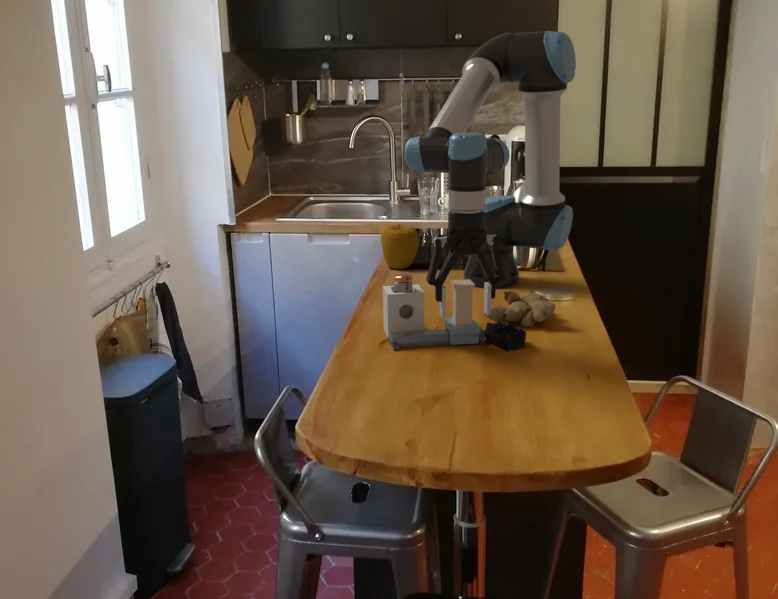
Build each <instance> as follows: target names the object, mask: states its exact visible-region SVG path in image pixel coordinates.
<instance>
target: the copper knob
mask: <svg viewBox="0 0 778 599" xmlns="http://www.w3.org/2000/svg"><path fill="white" fill-rule="evenodd" d="M412 285H413V275H412V274H409V273H397V274H395V275H393V286H394V293H404V292H412Z"/></svg>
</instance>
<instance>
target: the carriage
mask: <svg viewBox="0 0 778 599" xmlns="http://www.w3.org/2000/svg"><path fill="white" fill-rule="evenodd" d="M450 285H451V286H452V298H451V299H452V305H451V306H452V307H451V308H452V309H451V310H452V312H451V314H452V316H451V317H446V318H444V325H445V328H444V329H448V330H449V331H450V344H449V345H451V346H455V345H472V344H473V345H474V344H480V343H479V333H480V327H481V326H480V324H479V323H478V322H477V321H476V320H475V318H474V317H473V304H474V303H473V300H474V298H473V296H474V295H473V293H474V289H475V288H476V286H475V284H474V283H473V282H472V281H471V280H470V279H468V280H464V279H454V280H453V279H451V280H450Z"/></svg>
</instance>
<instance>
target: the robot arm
mask: <svg viewBox="0 0 778 599" xmlns="http://www.w3.org/2000/svg"><path fill="white" fill-rule="evenodd" d="M575 52H576V51H575V47H574V44H573V42H572V39H571V38H570V36H569V35H568V34H567V33H565V32H562V31H551V30H547V31H530V32H505V33H501V34H500V35H497V36H495V37H492V38H490V39H489V40H487V41H485V43H483V44H482V45H481V46H479V47H478V48H477V49H475V51H474V52H472V53H471V55H470V56H469V57H468V59H467V60H466V62H465V63H464V64H463V68H462V72H461V73H462V76H461V78H459V80H458V83H457V84H456V85H455V87H454V88H453V90H452V92H451V93H450V95H449V96H448V98H447V99H446V101H445V103H444V104H443V107H441V109H440V111H439V113H438V114H437V116H436V117H435V118H434V120H433V122H432V123H431V125H430V126H429V128H428V130H427V131H426V133H425V134H424V136H421V135H419V136H414V137H411V138H409V139H408V140H407V142H406V143H405V147H404V161H405V164H406V166H407V167H408V169H409V170H411V171H416V172H422V173H437V174H438V173H440V174H443V173H444V174H448V204H447V206H448V209H450V210H449V211H448V213H447V214H448V217H447V218H448V219H447V221H448V222H447V224H448V225H447V230H448V231H447V234H446V235H445V236H441V237H438V236H434V237H433V238H432V242H433V243H432V244H433V249H432V250H433V251H432V254H431V258H430V261H429V262H430V263H429V266H428V272H427V275H426V279H425V280H426V283H428V284H429V285H430V286H434V289H435V290H434V296H435V297H434V298H435V301H436V302H438V303H439V315H440V316H441V318H442V319H443V318H444V319H445V318H447V287H446V286H445V284H444V283H445V281H446V279H447V278H448V276H449V274H450V272H451V270H452V268H453V266H454V264H455V262H456V260H458V258H459V256H465V255H469V258H468V260H467V263H466V265H465V269H464V270H463V280H468V279H470V280H471V281H472V282H473V283H474V284H475V287H478V288H483V290H484V291H483V293H484V294H483V312H484V313H486V314H487V315H491V306H492V299H493V300H494V299H495V298H496V289H498V288H499V289H500V288H509V287H512V286H516V285H518V284H519V283H520V270H519V268H518V265H517V261H516V258H515V255H514V248H515V247H518V248H530V249H537V250H539V249H540V250H543V251H545V250H553V251H556V250H557V251H558V250H560V249H561V248H563V247H564V246H565V244H566V242H567V241H568V238H569V235H570V233H571V228H572V226H573V219H574V213H573V212H574V211H573V208H572V206H569V205H567V204H566V197H565V195H564V194H563V193H562V192H560V164H561V163H560V160H561V159H560V158H561V157H560V155H561V154H560V153H561V151H560V149H561V146H560V145H561V144H560V142H561V141H560V140H561V97H562V95H563V94H564V93H565V92H566V91H567V90H568V84H569V83H571V82H572V81H573V80H574V79H575V76H576V71H575V70H576V68H577V65H576V64H577V60H576V53H575ZM504 83H517V84H518V92H519V93H520V94H521V95H522V96H523V98H524V148H525V149H524V166H525V167H524V173H525V174H524V176H525V177H524V178H525V179H524V181H525V182H524V183H525V184H524V188H525V190H524V193H523V194H522V195H520V196H519V202H517V199H516V196H514V195H495V196H488V197H486V179H487V178H486V177H487V176H490V175H495V174H497V173H499V172H501V171H502V170H504V169H505V168H506V167H507V165H508V163H509V161H510V151H509V147H508V145H507V144H506V143H505V141H503V140H501V139H500V138H496V137H487V136H486V135H485V134H484V133H482V132H467V131H468V129H469V127H470V125H471V123H472V122H473V120H474V118H475V117H476V115H477V114H478V112H479V110H480V109H481V106H482V105H483V103H484V102H485V100H486V99H487V98H488V97H487V96H488V95H489V94H490V93H491V92H493V91H495V90H496V89H497V88H498V86H499V85H500V84H504ZM446 243H447V244H448V245H449V246H450V248H449V251H448V254H447V256H446V258H445V260H444V262H443V265H442V266H441V268H440V270H439V272H438V269H439V264H440V260H441V255H442V252H443V251H442V249H444V247H445V246H446V245H445V244H446ZM437 272H438V274H437Z"/></svg>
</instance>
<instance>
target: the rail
mask: <svg viewBox="0 0 778 599" xmlns="http://www.w3.org/2000/svg"><path fill="white" fill-rule="evenodd" d="M388 342H389V343H390V346H391V348H392V350H393V351H400V348H413V347H429V346H444V345H451V344H450V331H449V330H448V329H445V328H439V329H438V328H435V329H424V330H418V331H402V332H390V337H389V340H388ZM478 344H480V345H481V346H482V345H487V339H486V338H485V328H483V327H482V326H480V333H479V343H478Z"/></svg>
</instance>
